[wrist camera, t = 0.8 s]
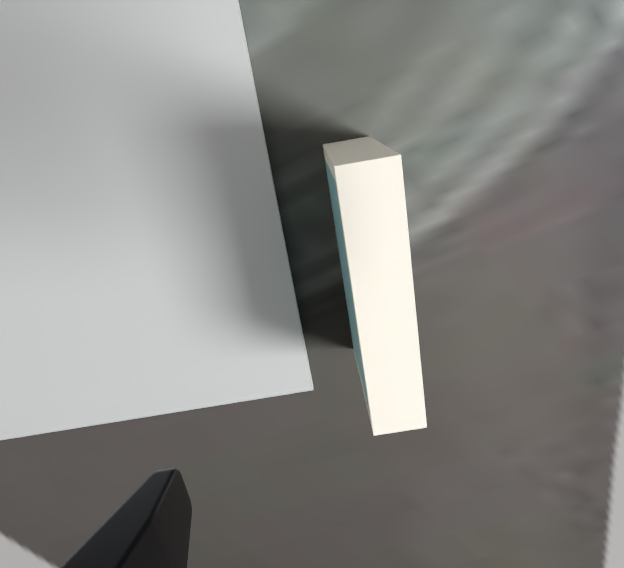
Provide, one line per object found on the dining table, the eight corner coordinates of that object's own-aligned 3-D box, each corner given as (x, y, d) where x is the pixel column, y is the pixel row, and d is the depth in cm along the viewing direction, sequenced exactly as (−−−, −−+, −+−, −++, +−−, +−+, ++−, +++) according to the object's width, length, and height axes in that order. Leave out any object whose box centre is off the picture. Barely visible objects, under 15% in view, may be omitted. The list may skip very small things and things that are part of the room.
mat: (313, 385, 22) (313, 389, 22) (-22, 438, 23) (-28, 444, 22) (208, -157, 15) (205, -164, 15) (-283, -62, 16) (-297, -65, 15)
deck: (392, 341, 22) (427, 427, 16) (353, 348, 22) (373, 435, 16) (368, 136, 19) (400, 154, 13) (322, 144, 19) (334, 166, 13)
